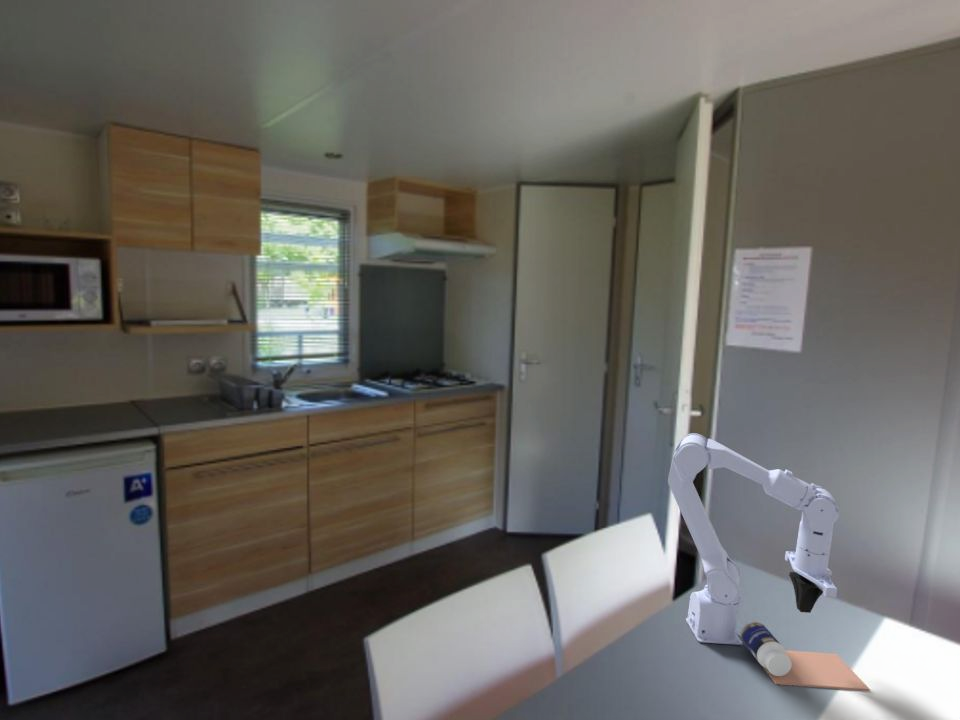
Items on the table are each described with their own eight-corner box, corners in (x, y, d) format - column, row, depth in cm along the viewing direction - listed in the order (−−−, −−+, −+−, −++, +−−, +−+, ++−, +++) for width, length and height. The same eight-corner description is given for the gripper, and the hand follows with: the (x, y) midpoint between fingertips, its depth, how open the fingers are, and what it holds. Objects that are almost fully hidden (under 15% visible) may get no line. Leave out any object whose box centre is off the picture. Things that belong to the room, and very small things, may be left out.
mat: (775, 684, 103) (775, 682, 103) (750, 649, 112) (750, 647, 112) (869, 691, 102) (869, 689, 102) (836, 655, 112) (836, 653, 112)
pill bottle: (756, 615, 112) (784, 646, 103) (770, 634, 113) (800, 667, 103) (734, 630, 113) (760, 663, 103) (748, 650, 114) (775, 684, 104)
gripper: (857, 567, 101) (846, 634, 103) (811, 533, 115) (803, 592, 117) (819, 565, 101) (809, 631, 103) (778, 531, 115) (770, 589, 117)
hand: (803, 610), depth 110 cm, fingers closed
